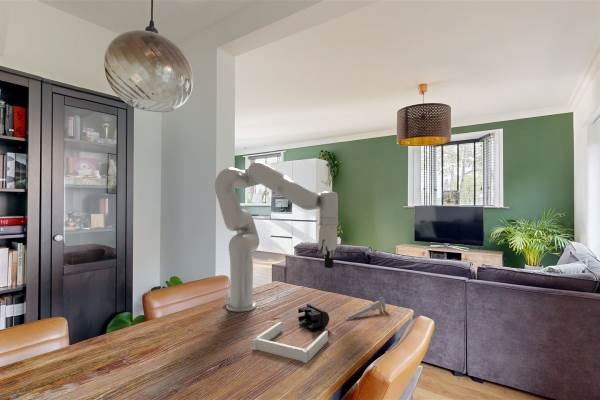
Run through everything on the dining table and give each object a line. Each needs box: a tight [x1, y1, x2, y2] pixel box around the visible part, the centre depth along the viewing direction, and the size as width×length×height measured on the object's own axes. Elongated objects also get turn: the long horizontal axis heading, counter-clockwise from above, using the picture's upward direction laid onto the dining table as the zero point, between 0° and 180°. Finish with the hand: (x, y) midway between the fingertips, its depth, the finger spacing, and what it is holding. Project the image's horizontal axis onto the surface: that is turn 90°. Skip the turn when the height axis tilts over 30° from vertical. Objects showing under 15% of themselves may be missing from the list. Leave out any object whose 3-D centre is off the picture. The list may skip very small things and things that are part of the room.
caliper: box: [345, 296, 386, 321], centre depth 122 cm, size 20×1×6 cm, turn 120°
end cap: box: [297, 303, 330, 334], centre depth 111 cm, size 10×7×7 cm
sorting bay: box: [252, 321, 329, 364], centre depth 96 cm, size 18×16×3 cm
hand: (329, 267), depth 124 cm, fingers closed
